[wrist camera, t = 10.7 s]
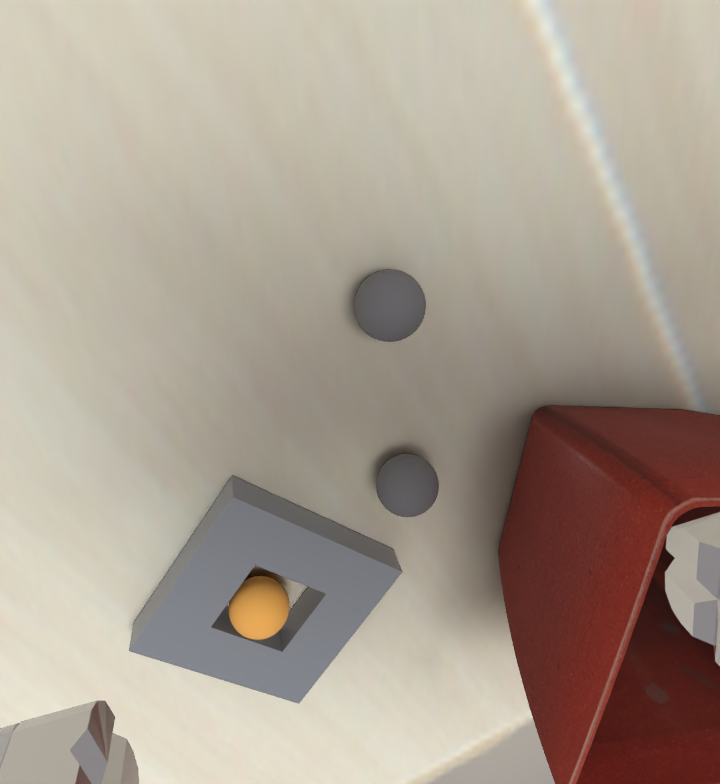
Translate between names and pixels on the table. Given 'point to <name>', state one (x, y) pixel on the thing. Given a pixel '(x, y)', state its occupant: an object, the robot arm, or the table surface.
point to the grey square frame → (278, 555)
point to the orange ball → (259, 608)
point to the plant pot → (612, 593)
